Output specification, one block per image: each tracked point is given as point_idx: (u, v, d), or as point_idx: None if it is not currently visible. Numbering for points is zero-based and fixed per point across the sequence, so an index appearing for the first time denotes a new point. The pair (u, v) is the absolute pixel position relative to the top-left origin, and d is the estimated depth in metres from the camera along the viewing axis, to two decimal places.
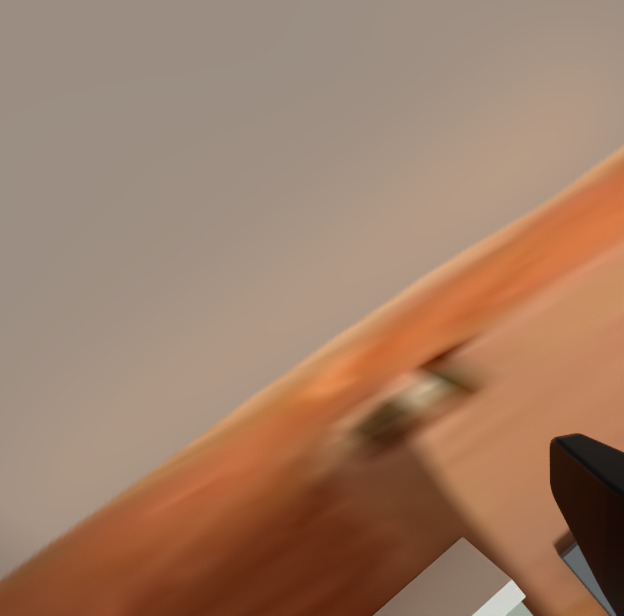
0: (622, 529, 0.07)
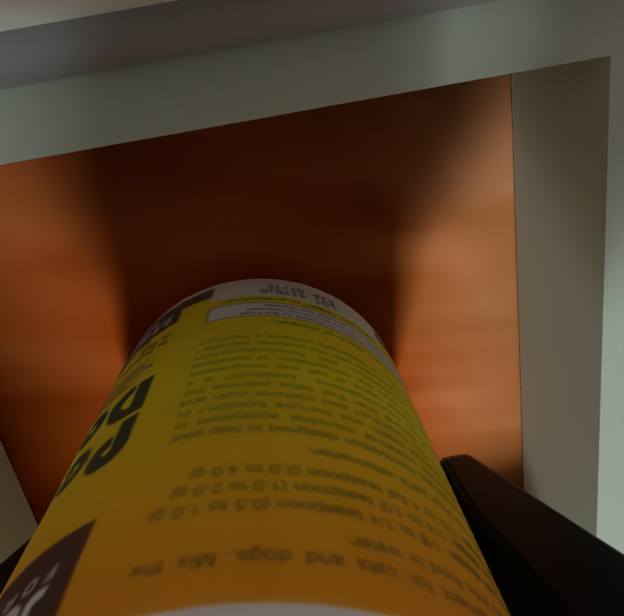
0: (485, 555, 0.06)
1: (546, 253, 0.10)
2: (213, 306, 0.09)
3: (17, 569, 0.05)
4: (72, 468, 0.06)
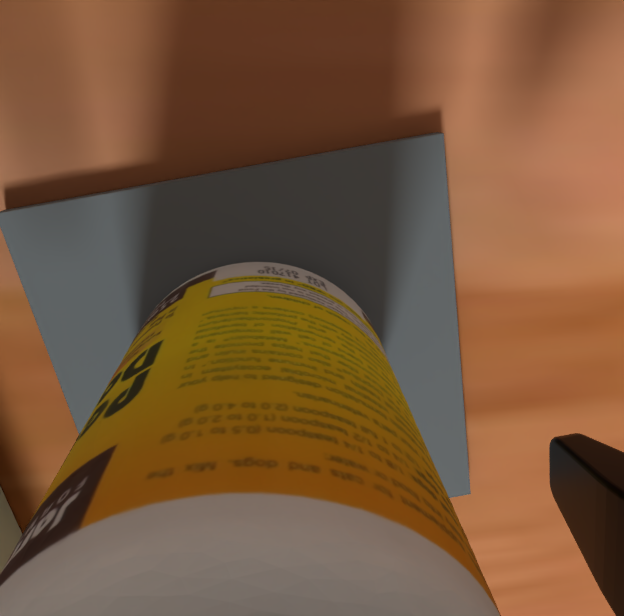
0: (622, 529, 0.07)
1: None
2: (215, 284, 0.10)
3: (49, 491, 0.06)
4: (92, 416, 0.07)
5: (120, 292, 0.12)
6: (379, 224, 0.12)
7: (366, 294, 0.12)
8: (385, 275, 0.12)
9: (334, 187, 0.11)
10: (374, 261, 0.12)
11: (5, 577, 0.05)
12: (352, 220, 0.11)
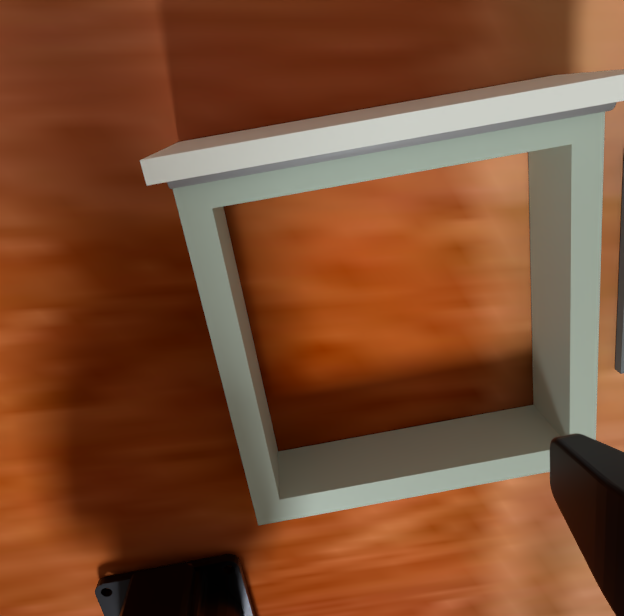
0: (622, 529, 0.07)
1: (545, 229, 0.19)
2: None
3: None
4: None
5: None
6: None
7: None
8: None
9: None
10: None
11: None
12: None
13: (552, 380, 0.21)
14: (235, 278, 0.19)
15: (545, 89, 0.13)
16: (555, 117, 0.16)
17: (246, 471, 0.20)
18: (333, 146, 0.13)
